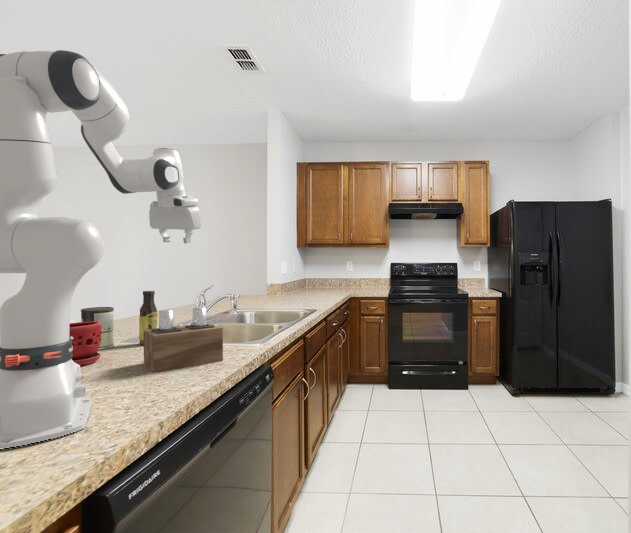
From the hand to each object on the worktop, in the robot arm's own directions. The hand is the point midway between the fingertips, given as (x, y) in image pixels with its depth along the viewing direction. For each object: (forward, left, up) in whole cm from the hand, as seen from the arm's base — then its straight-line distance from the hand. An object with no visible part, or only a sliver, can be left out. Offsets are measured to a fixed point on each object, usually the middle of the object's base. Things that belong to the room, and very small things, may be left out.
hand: (176, 242), depth 127 cm
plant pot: (+6, +28, -37) cm, 47 cm away
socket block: (-13, +2, -37) cm, 39 cm away
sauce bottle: (+22, +4, -37) cm, 43 cm away
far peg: (-13, -3, -31) cm, 34 cm away
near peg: (-13, +7, -31) cm, 35 cm away
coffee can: (+27, +20, -37) cm, 50 cm away
